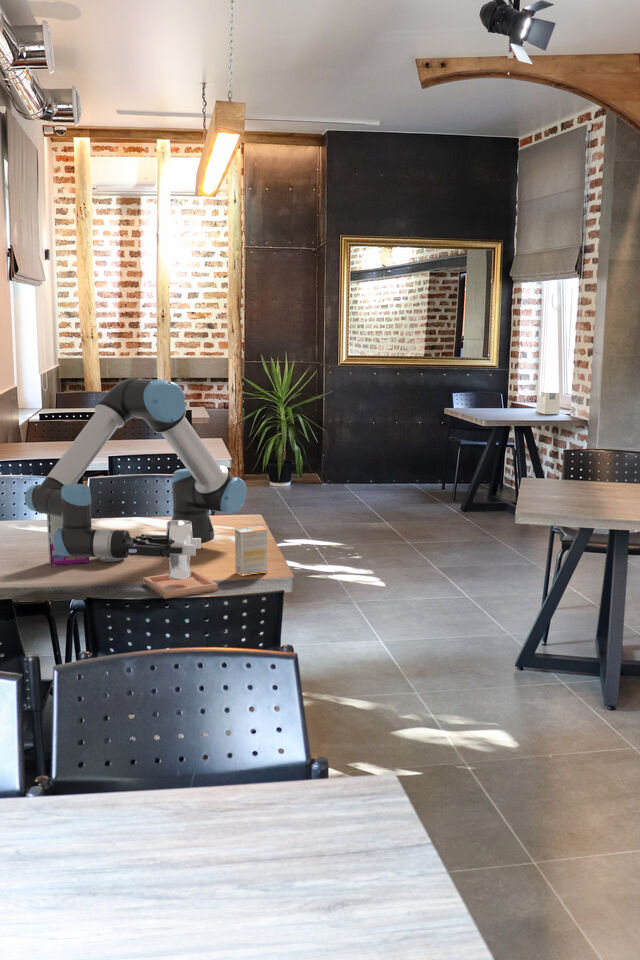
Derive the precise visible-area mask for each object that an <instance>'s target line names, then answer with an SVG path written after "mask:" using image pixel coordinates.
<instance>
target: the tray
mask: <svg viewBox="0 0 640 960" xmlns="http://www.w3.org/2000/svg"><path fill="white" fill-rule="evenodd" d="M190 573H191V578H192V577H193V579H191V578H189V579H185V580H173V579H170V578H168V574H169V573H166V574H159V575H152V576H146V577H143V584H144V583H145V586H146V587H148V588H149V589H150V590H151V591H153V592H154V593H156V594H157V595H159V596H160V597H162V598H163V599H164V600H165V599H166V600H167V599H172V598H177V597H179V598H180V597H184V596H191V595H196V594H203V593H210V592H217V591H218V583H216V582H215V581H213V580H211V579H209V578H208V577H206V576H205V575H203V574H201V573H199V571H196V570H194V569H193V570H190ZM194 578H195V579H194Z"/></svg>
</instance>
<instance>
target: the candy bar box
mask: <svg viewBox="0 0 640 960" xmlns="http://www.w3.org/2000/svg"><path fill="white" fill-rule="evenodd" d="M46 525H47V544H48V547H47V548H48V561H49V562H50V563H49V565H50V566H51V567H54V566H53V565H62V566H69V565H68V564H72V565H79V564H80V563H82V564H88V563H90V557H70V556H60V555H58V554H57V553H56V552H55V550H54V546H53V540H54V534H55V532H56V530H57V529H59V528H62V517H57V516H53V515H49V514H46ZM80 565H81V564H80Z"/></svg>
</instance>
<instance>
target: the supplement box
mask: <svg viewBox="0 0 640 960" xmlns="http://www.w3.org/2000/svg"><path fill="white" fill-rule="evenodd" d="M234 541H235V542H234V543H235V544H234V548H235V549H234V550H235V551H234V552H235V553H234V554H235V555H234V556H235V557H234V558H235V560H234V561H235V563H234V564H235V573H236V572H238V573H240V574H241V575H242V574H251V573H261V572H267V573H268V528H265V527H263V526H261V525H259V526H249V527H241V528H235V529H234Z"/></svg>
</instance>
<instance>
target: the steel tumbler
mask: <svg viewBox="0 0 640 960" xmlns="http://www.w3.org/2000/svg"><path fill="white" fill-rule="evenodd" d="M171 520H172V519H171ZM171 520H169V521H167V522H166V531H165V533H166V534H165V535H166V544H167V545H170V547H171V544H183V545H192V539H193V536H192V522H191V521H188V520H172V521H171ZM168 560H169V569H168V573H167V574H168V578H170V579H173V580H185V579H189V578H190V577H191V573H190V571H191V568H190V563H191V562H190V561H191V555H171V553H170V558H168Z"/></svg>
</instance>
